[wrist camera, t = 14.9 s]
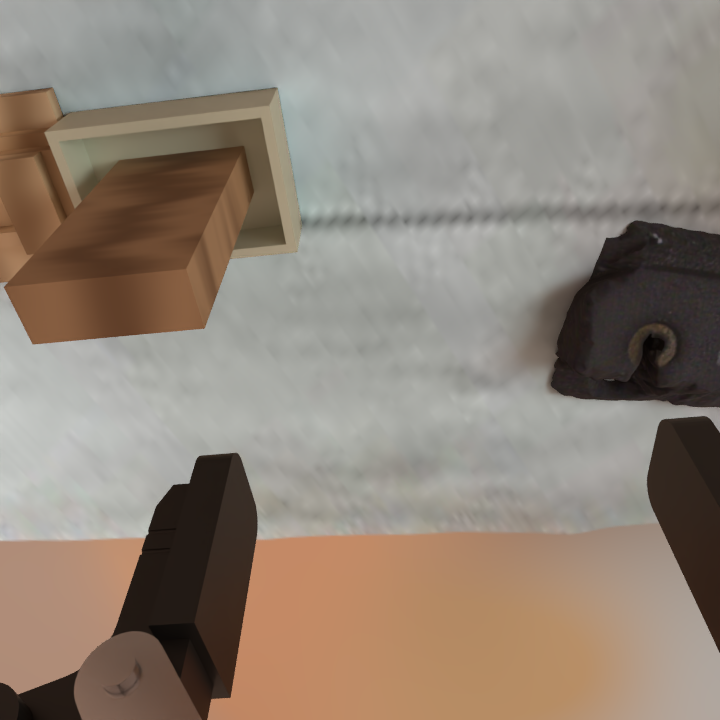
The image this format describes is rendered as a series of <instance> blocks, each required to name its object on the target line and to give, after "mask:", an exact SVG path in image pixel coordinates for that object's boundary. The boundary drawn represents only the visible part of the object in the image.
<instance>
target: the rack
mask: <svg viewBox="0 0 720 720" xmlns="http://www.w3.org/2000/svg"><path fill="white" fill-rule="evenodd" d="M63 117H64V116H63V114H62V111H61V108H60V106H59V103H58V100H57V98H56V95H55V93H54V90H53V88H47V89H38V90H30V91H22V92H14V93H6V94H0V283H1V282H9V281H10V280H11V279H12V278H13V277H14V276H15V274H16V273H17V272H18V271H19V270H20V269H21V268H22V267H23V266H24V264H25V263H26V262H27V261H28V260H29V259H30V258H31V257H32V256H33V255H34V253H35V252H36V251H37V250H38V249H39V248H40V247H41V246H42V245H43V244H44V242H45V241H46V240H47V239H48V238H49V237H50V236H51V235H52V234H53V233H54V231H55V230H56V229H57V228H58V227H59V226H60V225H61V224H62V223H63V222H64V220H65V219H66V218H67V217H68V216H69V215H70V214H71V213H72V212H73V211H74V209H75V208H74V206H73V203H72V201H71V198H70V196H69V193H68V191H67V188H66V186H65V183H64V181H63V178H62V176H61V173H60V171H59V168H58V166H57V163H56V161H55V158H54V156H53V153H52V151H51V148H50V146H49V143H48V141H47V138H46V136H45V133H44V132H45V131H46V130H48V129H49V128H50V127H52V126H53V125H54V124H56V123H57V122H58V121H60V120H61V119H62V118H63Z"/></svg>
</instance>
